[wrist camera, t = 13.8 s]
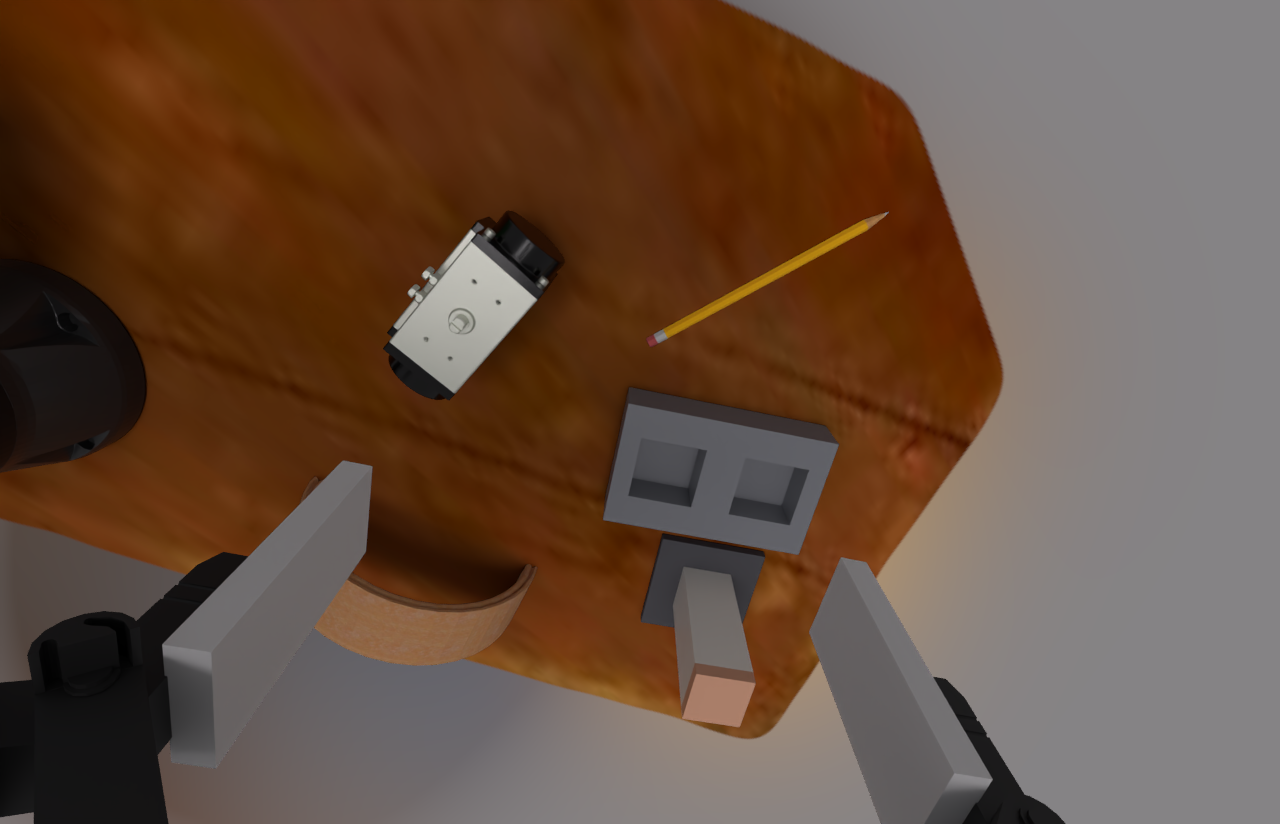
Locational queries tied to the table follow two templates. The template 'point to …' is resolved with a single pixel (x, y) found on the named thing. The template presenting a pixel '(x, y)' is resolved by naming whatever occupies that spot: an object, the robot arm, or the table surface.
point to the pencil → (764, 279)
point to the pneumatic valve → (470, 304)
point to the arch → (415, 621)
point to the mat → (704, 557)
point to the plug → (711, 649)
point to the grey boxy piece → (717, 471)
